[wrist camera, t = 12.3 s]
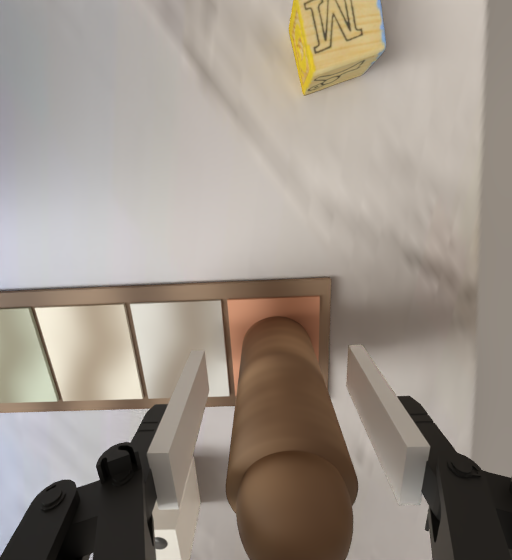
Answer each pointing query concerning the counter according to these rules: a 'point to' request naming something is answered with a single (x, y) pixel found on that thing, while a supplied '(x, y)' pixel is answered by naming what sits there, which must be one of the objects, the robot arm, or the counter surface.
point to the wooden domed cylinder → (288, 451)
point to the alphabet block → (335, 40)
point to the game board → (141, 340)
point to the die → (178, 522)
